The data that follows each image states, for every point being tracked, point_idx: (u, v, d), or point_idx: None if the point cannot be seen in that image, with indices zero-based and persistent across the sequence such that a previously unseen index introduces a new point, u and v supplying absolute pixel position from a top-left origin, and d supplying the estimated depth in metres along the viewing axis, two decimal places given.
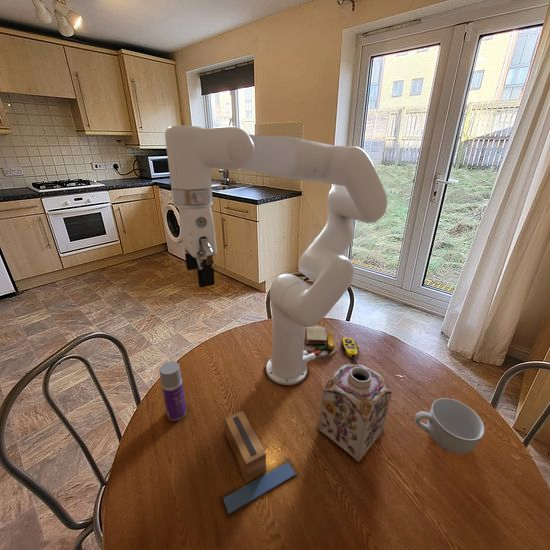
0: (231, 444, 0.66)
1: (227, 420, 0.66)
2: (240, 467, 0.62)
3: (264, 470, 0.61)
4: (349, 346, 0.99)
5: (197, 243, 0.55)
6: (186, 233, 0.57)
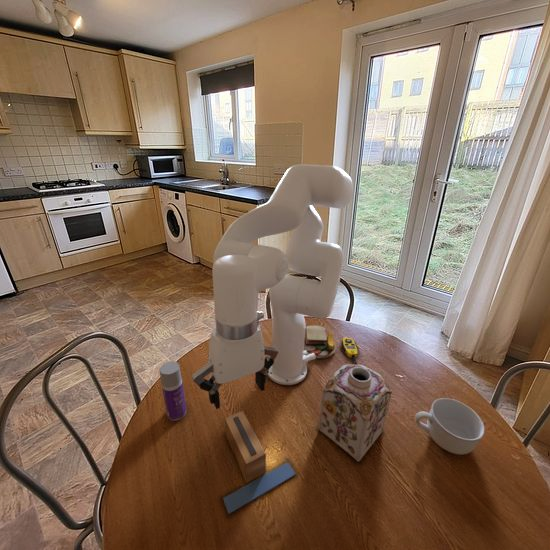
0: (231, 444, 0.66)
1: (227, 420, 0.66)
2: (240, 467, 0.62)
3: (264, 470, 0.61)
4: (349, 346, 0.99)
5: None
6: (253, 356, 0.54)
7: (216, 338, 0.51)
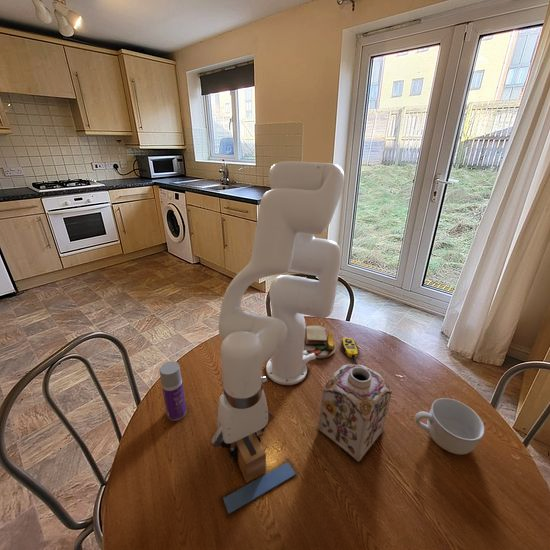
0: None
1: None
2: (240, 467, 0.62)
3: (264, 470, 0.61)
4: (349, 346, 0.99)
5: None
6: (257, 417, 0.60)
7: (224, 406, 0.56)
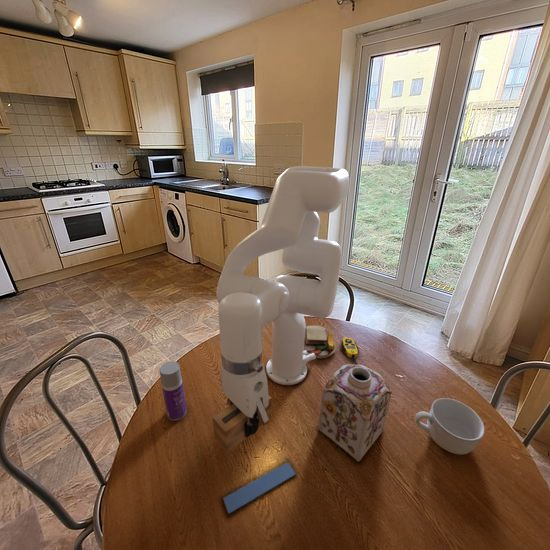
0: None
1: None
2: None
3: (226, 449, 0.57)
4: (349, 346, 0.99)
5: (254, 406, 0.54)
6: (239, 395, 0.54)
7: None
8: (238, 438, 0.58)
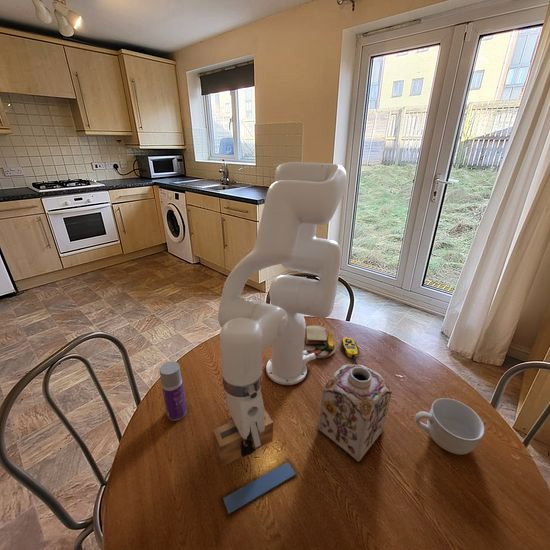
0: None
1: None
2: None
3: (220, 462, 0.60)
4: (349, 346, 0.99)
5: (248, 429, 0.55)
6: (236, 415, 0.56)
7: None
8: (234, 455, 0.61)
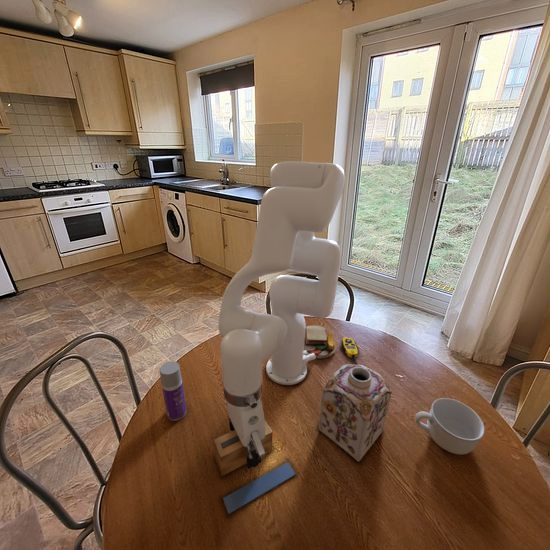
0: None
1: None
2: None
3: (221, 472, 0.61)
4: (349, 346, 0.99)
5: (248, 437, 0.56)
6: (236, 424, 0.58)
7: None
8: (234, 464, 0.62)
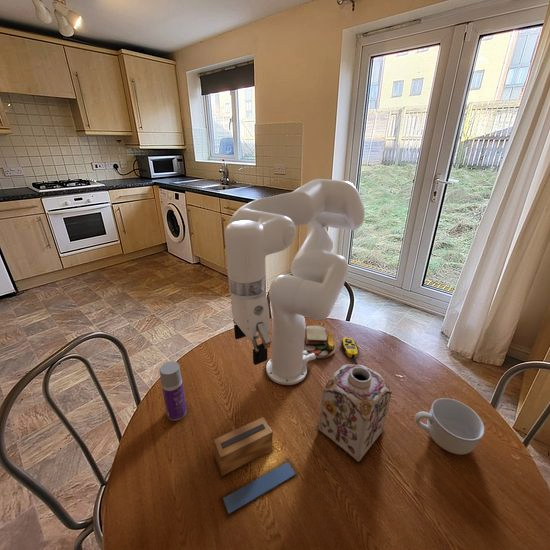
0: None
1: (260, 419, 0.67)
2: None
3: (221, 472, 0.61)
4: (349, 346, 0.99)
5: (254, 329, 0.58)
6: (242, 318, 0.59)
7: None
8: (234, 464, 0.62)
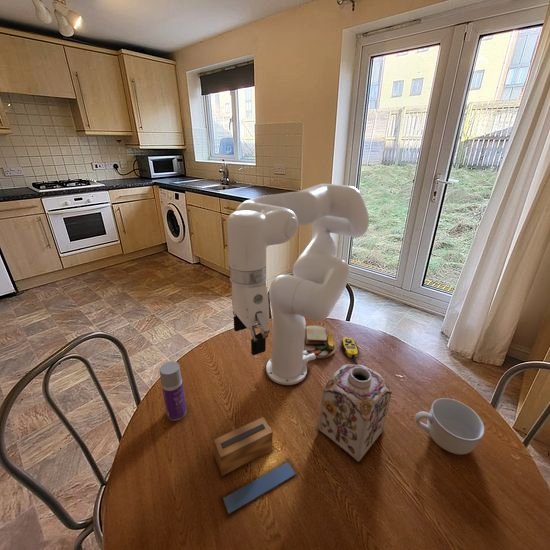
0: None
1: (260, 419, 0.67)
2: None
3: (221, 472, 0.61)
4: (349, 346, 0.99)
5: (253, 318, 0.59)
6: (242, 307, 0.60)
7: None
8: (234, 464, 0.62)
